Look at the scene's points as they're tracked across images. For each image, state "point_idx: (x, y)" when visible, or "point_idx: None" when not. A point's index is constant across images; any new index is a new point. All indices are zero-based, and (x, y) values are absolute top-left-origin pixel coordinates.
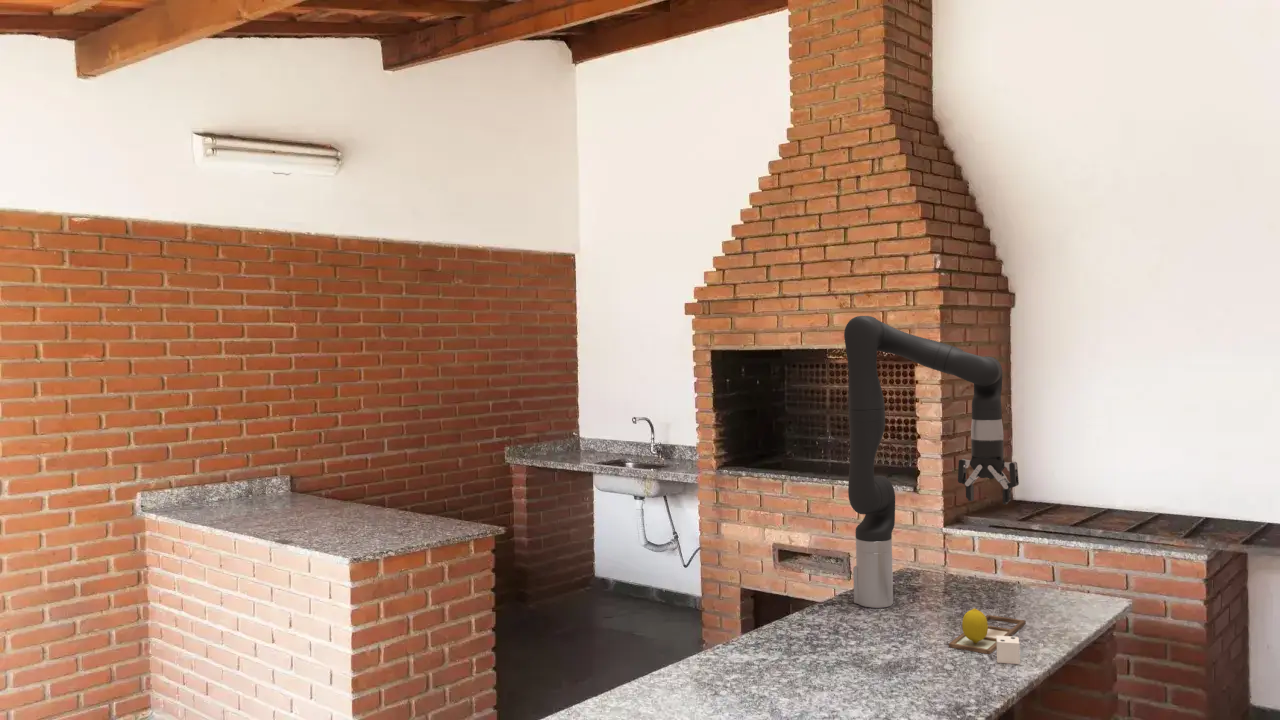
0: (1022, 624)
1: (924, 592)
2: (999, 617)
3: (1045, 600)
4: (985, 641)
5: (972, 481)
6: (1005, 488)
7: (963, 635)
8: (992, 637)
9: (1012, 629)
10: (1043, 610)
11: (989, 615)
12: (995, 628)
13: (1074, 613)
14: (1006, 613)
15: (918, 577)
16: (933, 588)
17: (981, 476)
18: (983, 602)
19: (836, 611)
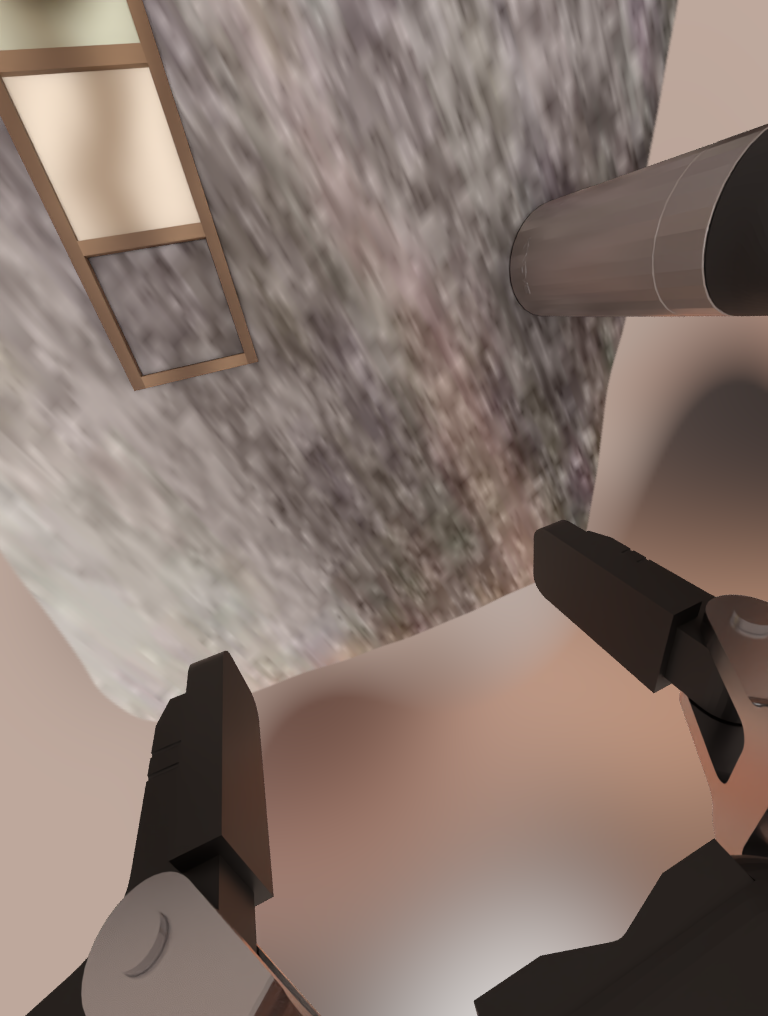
0: (118, 355)
1: (494, 447)
2: (213, 361)
3: (259, 602)
4: (33, 23)
5: (740, 688)
6: (152, 889)
7: (131, 14)
8: (63, 114)
9: (78, 256)
10: (203, 537)
11: (248, 359)
12: (134, 232)
13: (129, 575)
14: (250, 442)
15: None
16: (492, 489)
17: (730, 895)
18: (352, 481)
19: (608, 84)
